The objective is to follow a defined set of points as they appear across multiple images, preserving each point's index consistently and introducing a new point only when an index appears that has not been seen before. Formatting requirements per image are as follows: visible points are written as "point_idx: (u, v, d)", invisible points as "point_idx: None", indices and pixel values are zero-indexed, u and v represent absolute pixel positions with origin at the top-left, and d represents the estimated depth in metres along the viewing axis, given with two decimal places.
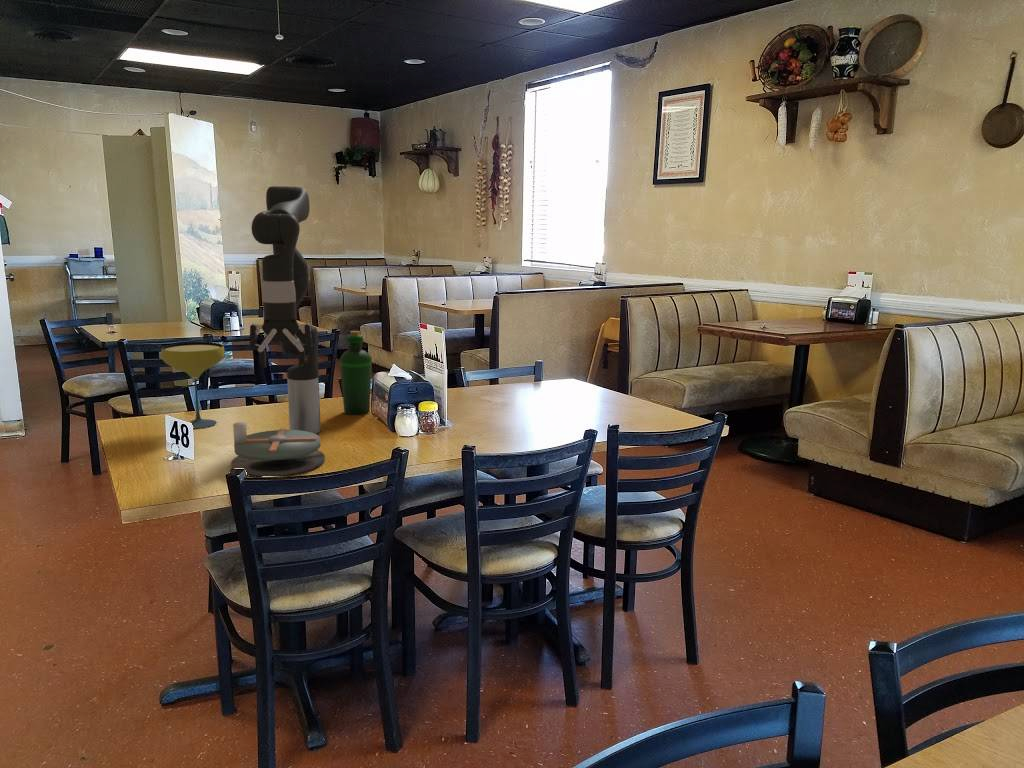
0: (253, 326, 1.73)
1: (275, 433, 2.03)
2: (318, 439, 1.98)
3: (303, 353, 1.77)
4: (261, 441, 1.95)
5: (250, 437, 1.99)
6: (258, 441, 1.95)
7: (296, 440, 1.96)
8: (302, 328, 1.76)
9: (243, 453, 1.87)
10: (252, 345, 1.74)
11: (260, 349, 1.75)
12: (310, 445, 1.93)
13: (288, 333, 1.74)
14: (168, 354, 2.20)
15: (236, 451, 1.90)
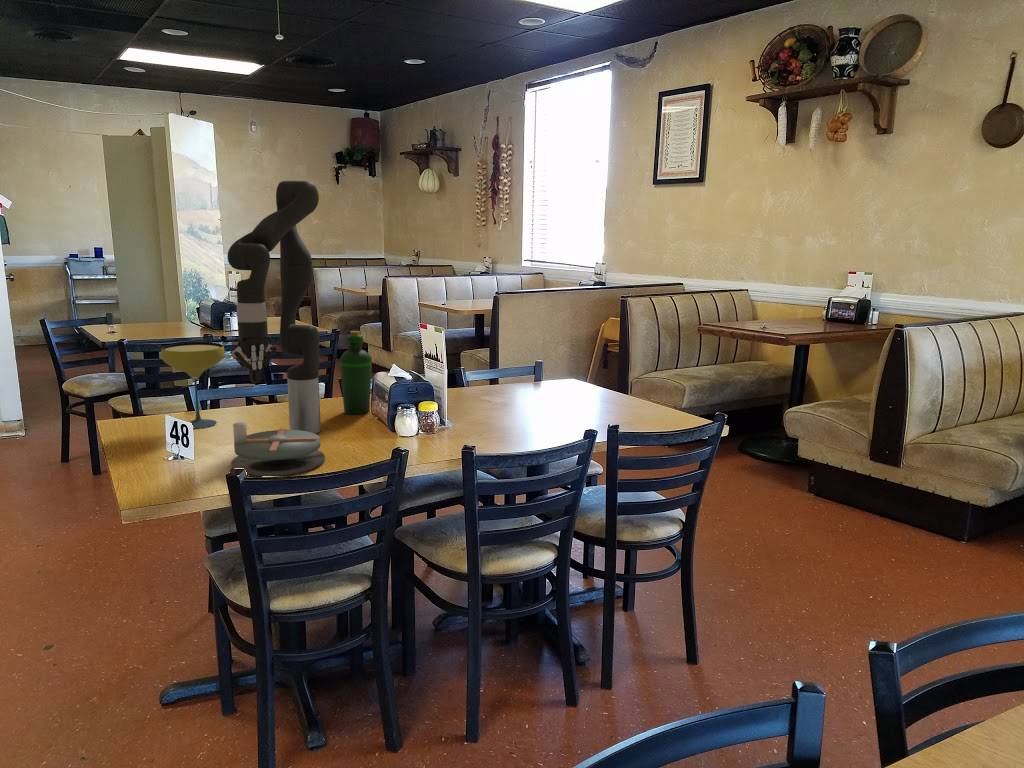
0: (237, 352, 1.92)
1: (275, 433, 2.03)
2: (318, 439, 1.98)
3: (260, 370, 1.99)
4: (261, 441, 1.95)
5: (250, 437, 1.99)
6: (258, 441, 1.95)
7: (296, 440, 1.96)
8: (269, 347, 2.00)
9: (243, 453, 1.87)
10: (247, 365, 1.95)
11: (254, 367, 1.97)
12: (310, 445, 1.93)
13: (262, 349, 1.97)
14: (168, 354, 2.20)
15: (236, 451, 1.90)
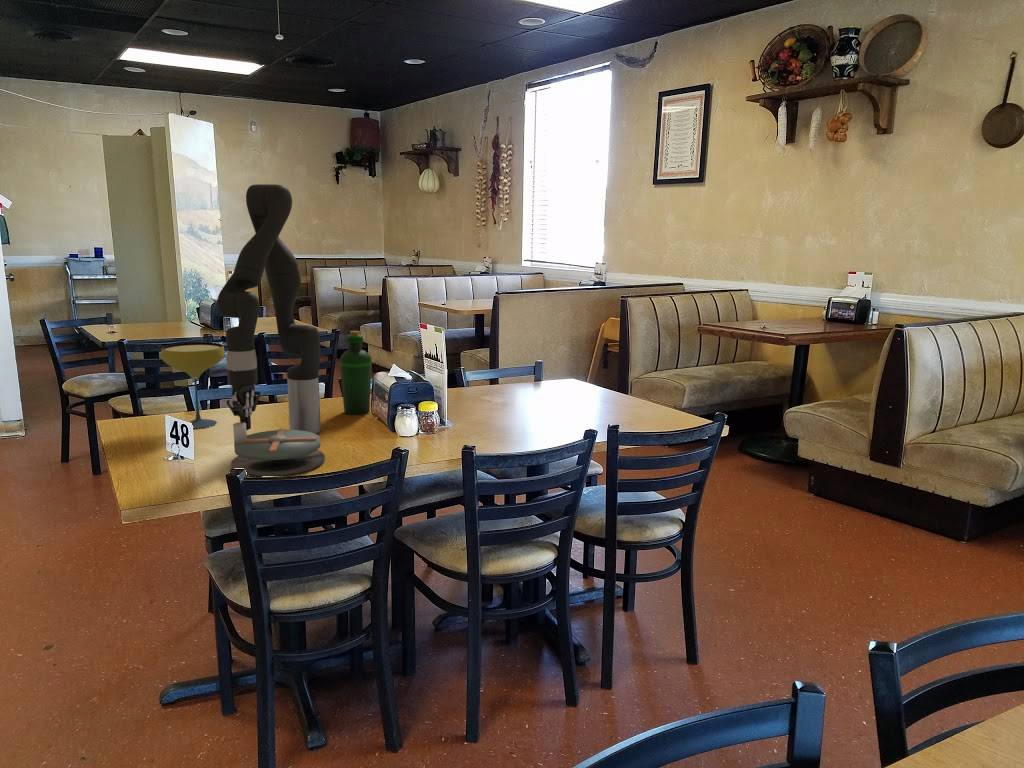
0: (236, 401, 1.90)
1: (275, 433, 2.03)
2: (318, 439, 1.98)
3: (249, 416, 1.98)
4: (261, 441, 1.95)
5: (250, 437, 1.99)
6: (258, 441, 1.95)
7: (296, 440, 1.96)
8: (254, 392, 2.00)
9: (243, 453, 1.87)
10: (242, 413, 1.94)
11: (247, 414, 1.96)
12: (310, 445, 1.93)
13: (253, 395, 1.97)
14: (168, 354, 2.20)
15: (236, 451, 1.90)
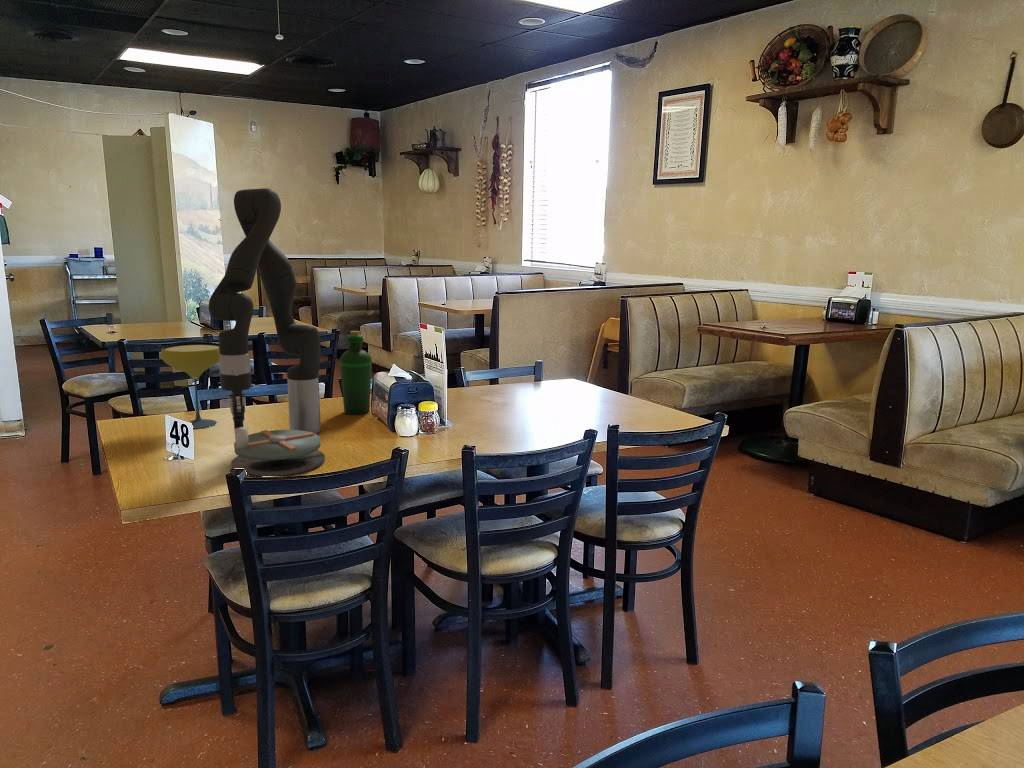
0: (244, 406, 1.86)
1: (261, 435, 2.01)
2: (314, 434, 2.03)
3: None
4: (264, 443, 1.93)
5: None
6: (261, 443, 1.93)
7: (296, 437, 1.99)
8: None
9: (262, 456, 1.86)
10: (243, 417, 1.90)
11: None
12: (317, 439, 1.98)
13: None
14: (168, 354, 2.20)
15: (249, 455, 1.87)
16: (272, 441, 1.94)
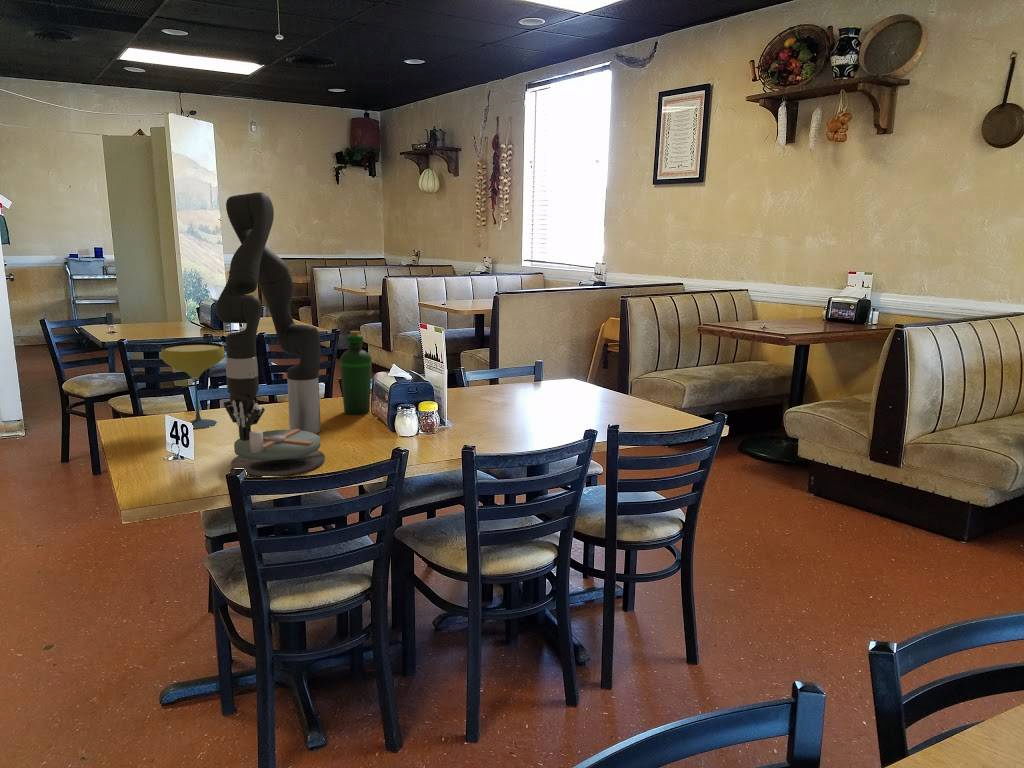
0: None
1: (249, 440, 1.97)
2: None
3: None
4: (271, 444, 1.92)
5: (246, 447, 1.90)
6: (270, 445, 1.91)
7: (290, 435, 2.01)
8: None
9: (289, 454, 1.87)
10: None
11: None
12: (311, 433, 2.03)
13: None
14: (168, 354, 2.20)
15: (274, 457, 1.86)
16: (277, 441, 1.94)
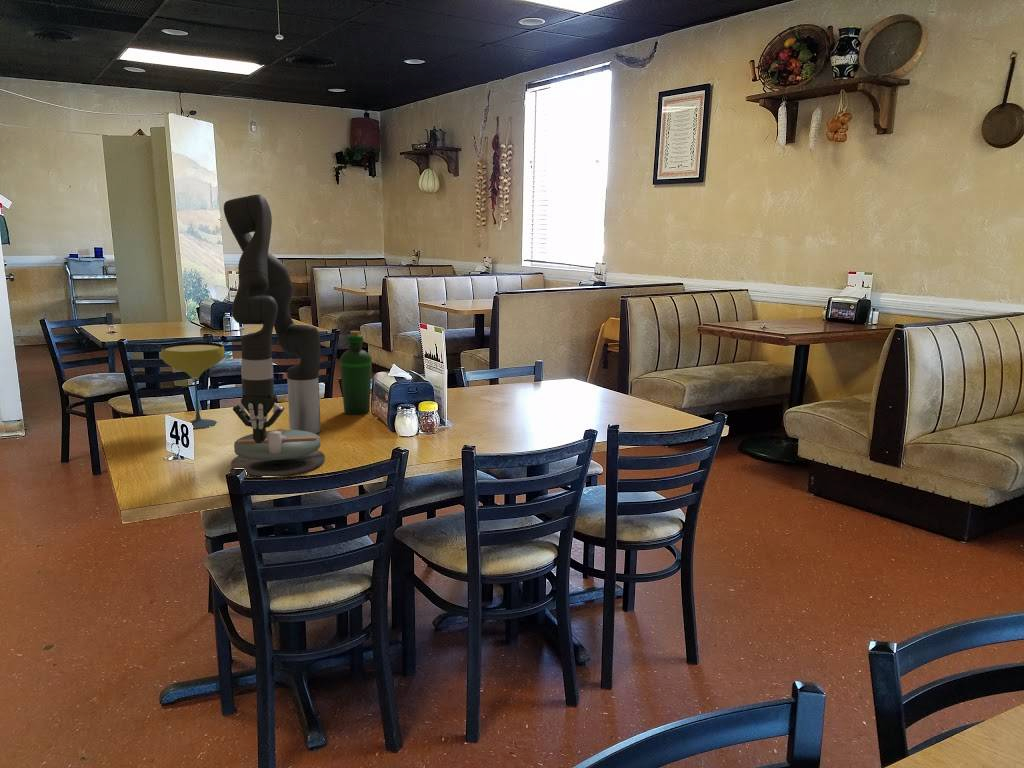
0: None
1: (247, 444, 1.93)
2: None
3: None
4: None
5: (258, 450, 1.88)
6: None
7: (282, 434, 2.01)
8: None
9: (308, 450, 1.91)
10: None
11: None
12: (298, 431, 2.06)
13: None
14: (168, 354, 2.20)
15: (296, 454, 1.88)
16: (281, 441, 1.95)
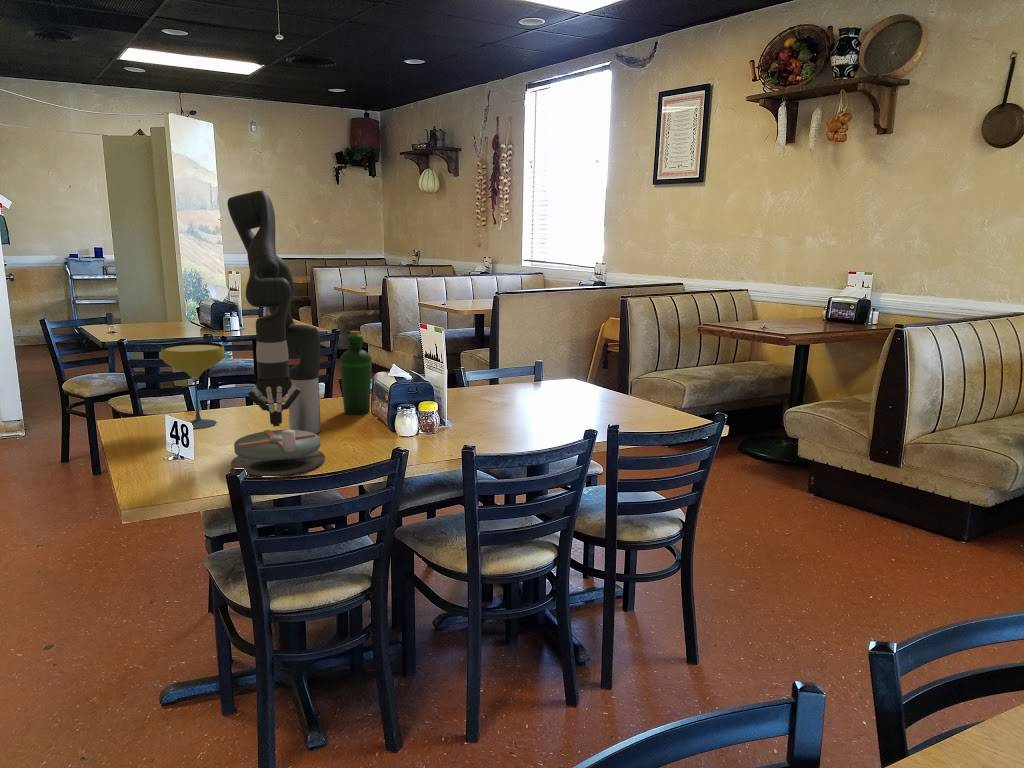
0: None
1: (251, 446, 1.91)
2: None
3: None
4: None
5: (270, 451, 1.88)
6: None
7: (275, 435, 2.01)
8: None
9: (317, 446, 1.95)
10: None
11: None
12: None
13: None
14: (168, 354, 2.20)
15: (309, 450, 1.92)
16: None
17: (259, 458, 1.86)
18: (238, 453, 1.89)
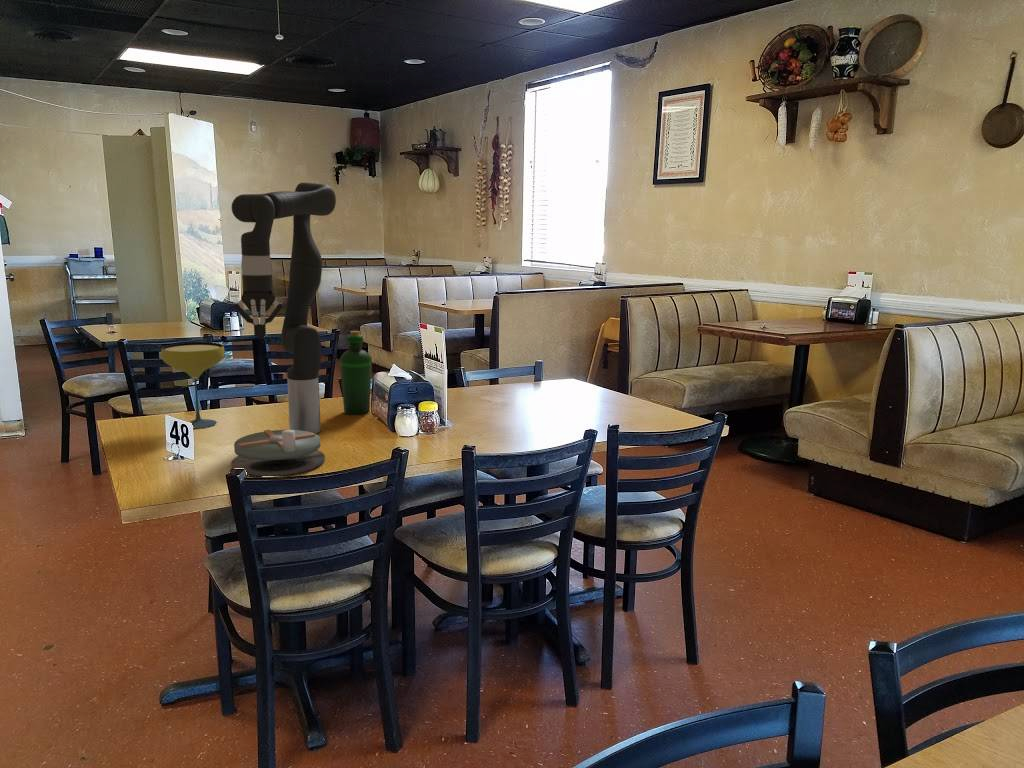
0: None
1: (251, 446, 1.91)
2: None
3: None
4: None
5: (270, 451, 1.88)
6: None
7: (275, 435, 2.01)
8: None
9: (317, 446, 1.95)
10: None
11: None
12: None
13: None
14: (168, 354, 2.20)
15: (309, 450, 1.92)
16: None
17: (259, 458, 1.86)
18: (238, 453, 1.89)
